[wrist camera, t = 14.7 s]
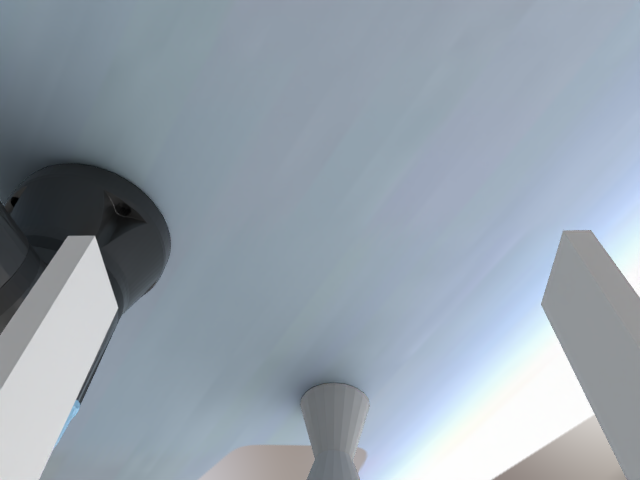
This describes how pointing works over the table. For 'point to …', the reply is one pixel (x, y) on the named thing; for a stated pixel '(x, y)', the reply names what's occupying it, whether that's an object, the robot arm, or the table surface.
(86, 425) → the table surface
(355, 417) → the lava lamp
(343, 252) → the table surface
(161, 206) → the table surface
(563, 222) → the table surface
